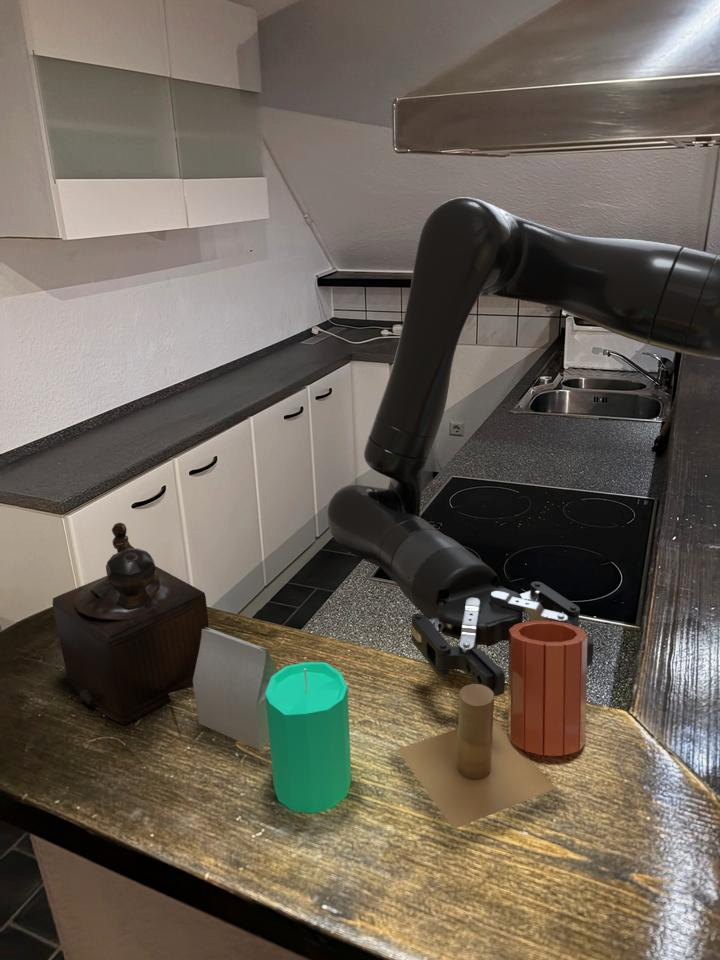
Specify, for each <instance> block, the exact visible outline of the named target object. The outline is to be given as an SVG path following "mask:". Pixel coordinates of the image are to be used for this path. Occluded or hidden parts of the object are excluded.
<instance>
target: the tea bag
mask: <svg viewBox="0 0 720 960" xmlns="http://www.w3.org/2000/svg"><path fill="white" fill-rule="evenodd" d="M270 653H271V652H270V650H269V648H265V647H263V646H260V645H257V644H254V643H252V642H249V641H246V640H244V639H240V638H239V637H236V636H232V635H230V634H227V633H224V632H221V631H219V630H215V629H214V628H210V627H209V628H207V627H205V629H202V635H201V643H200V649H199V654H198V658H197V663H196V668H195V672H194V677H193V692H194V701H195V707H196V716H197V723H198V724H199V725H201V726H204V727H206V728H208V729H211V730H212V731H214V732H217V733H218V734H222V735H224V736H226V737H228V738H231V739H233V740H235V741H238V742H240V743H242V744H244V745H247V746H249V747H251V748H253V749H256V750H258V751H262V750H263V749H264V748H265V747H266V746H267V745H268V744H270V741H269V730H268V720H267V709H266V698H265V693H266V690H267V687H268V684H269V681H270V679H271V677H272V676H273V675H274V674H276V673H277V672H279V670H278V668H277V666H276V665H275V663H274V660H273V659H272V656H271V654H270Z"/></svg>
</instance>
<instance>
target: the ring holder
mask: <svg viewBox="0 0 720 960" xmlns="http://www.w3.org/2000/svg"><path fill="white" fill-rule="evenodd" d="M494 711H495V696H494V693H493V692H492V690H491V689H490V688H488V687H486V686H484V685H480V684H476V683H471V684H467V685H464V686H463V687H461V689H460V690H459V692H458V719H457V720H458V721H457V722H458V725H457V728H455V729H452V730H449V731H447V732H442V733H441V734H438V735H435V736H431V737H429V738H427V739H426V738H425V739H423V740H419V741H416V742H414V743H411V744H408V745H405V746H402V747H400V748H397V752H398V753H399V754H400V756H401V757H402V759H403V760H404V761H405V763H406V764H407V766H408V767H409V769H410V770H411V772H412V773H413V774H414V775H415V777H416V778H417V780H418V782H419V783H420V784H421V785H422V787H423V789H424V790H425V791H426V793H427V794H428V796H429V797H430V799H431V800H432V801H433V802H434V804H435V806H436V807H437V808H438V809H439V811H440V812H441V814H442V815H443V817H444V818H445V820H446V821H447V823H448V824H449V826H450V827H451V828H452V830H455V829H458V828H461V827H463V826H466V825H469V824H470V823H474V822H475V821H478V820H480V819H483V818H486V817H488V816H492V815H493V814H496V813H498V812H501V811H504V810H506V809H509V808H511V807H514V806H516V805H518V804H521V803H523V802H526V801H529V800H531V799H534V798H536V797H539V796H541V795H544V794H546V793H549V792H551V791H554V790H556V789H557V787H556V786H555V785H554V783H552V782H551V780H550V779H549V778H548V777H547V776H546V775H545V774H544V773H543V772H542V771H541V770H540V768H538V766H537V765H536V764H535V763H534V762H533V761H532V760H531V758H529V756H528V755H526V753H525V751H523V749H521V748H519V747H518V746H516V745H515V744H513V743H512V742H511V741H510V737H509V734H508V733H506V732H505V731H504V730H503V728H502V727H501V726H500V725H499V724H498V723H497V722H496V721H495V720H494Z"/></svg>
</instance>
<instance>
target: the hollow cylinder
mask: <svg viewBox="0 0 720 960" xmlns="http://www.w3.org/2000/svg"><path fill="white" fill-rule="evenodd" d="M587 637H588V634H587V633H586V631H585V630H584V629H583V628H581V627H579V626H578V627H576V626H574V625H571V624H568V623H563V622H556V621H551V622H550V621H530V620H529V621H524V622H523V621H522V623H518V624H515V625H514V626H513V627H511V628H510V629H509V640H508V691H507V692H508V693H507V694H508V698H507V699H508V700H507V703H508V711H507V712H508V717H507V721H508V723H507V731H508V732H507V735H508V736H509V737H510V741H511V742H512V743H513V744H515V745H516V746H518V747H519V748H520V749H521V750H522V751H523V750H524V752H528V753H531V754H536V755H540V756H543V755H544V756H560V757H561V756H563V755H564V756H567V755H570V754H574V753H576V752H579V751H581V750H582V748H583V747H584V745H585V744H586V733H587V732H586V729H587V728H586V727H587V723H586V722H587V681H588V680H587V679H588V676H587V675H588V666H587Z"/></svg>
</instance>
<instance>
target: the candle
mask: <svg viewBox="0 0 720 960" xmlns="http://www.w3.org/2000/svg"><path fill="white" fill-rule="evenodd" d="M265 698H266V709H267V720H268V730H269V741H270V742H269V752H270V761H271V763H270V764H271V773H272V784H273V788H274V792H275V795H276V798H277V801H278V802H279V803H281V804H283V805H284V806H285V807H287V809H289V810H290V811H292V812H297V813H306V814H307V813H308V814H316V813H319V812H323V811H327V810H329V809H330V810H331V809H334V808H335V807H336V806H337V805H338V804H339V803H341V802H342V801H343V800H344V799H345V798H347V796H348V795H349V791H350V787H351V784H352V763H351V762H352V761H351V760H352V758H351V738H350V712H349V687H348V685H347V682H346V681H345V678H344V676H343V674H342V673H341V672H340V671H339V670H337V669H336V668H335V667H334V666H332V665H330V664H329V663H327V662H326V661H325V662H324V661H323V662H322V661H321V662H320V661H318V662H317V661H305V662H301V663H295V664H290V665H289V664H288V665H285V666H284V667H283V668H282V669H281V668H280V670H278V672H277V673H276V674H274V675H273V676H272V677H271V679H270V681H269V684H268V687H267V690H266V693H265Z"/></svg>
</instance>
